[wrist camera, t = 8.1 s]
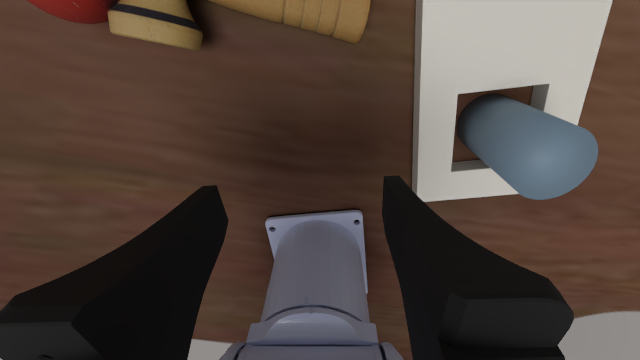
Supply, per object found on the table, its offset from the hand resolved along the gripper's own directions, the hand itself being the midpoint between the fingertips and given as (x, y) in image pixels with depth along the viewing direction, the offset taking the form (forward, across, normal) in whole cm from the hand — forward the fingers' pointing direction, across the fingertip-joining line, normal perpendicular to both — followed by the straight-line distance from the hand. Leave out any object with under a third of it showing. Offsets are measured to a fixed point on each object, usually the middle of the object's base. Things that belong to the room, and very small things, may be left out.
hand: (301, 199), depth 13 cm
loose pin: (+10, -12, +2) cm, 15 cm away
